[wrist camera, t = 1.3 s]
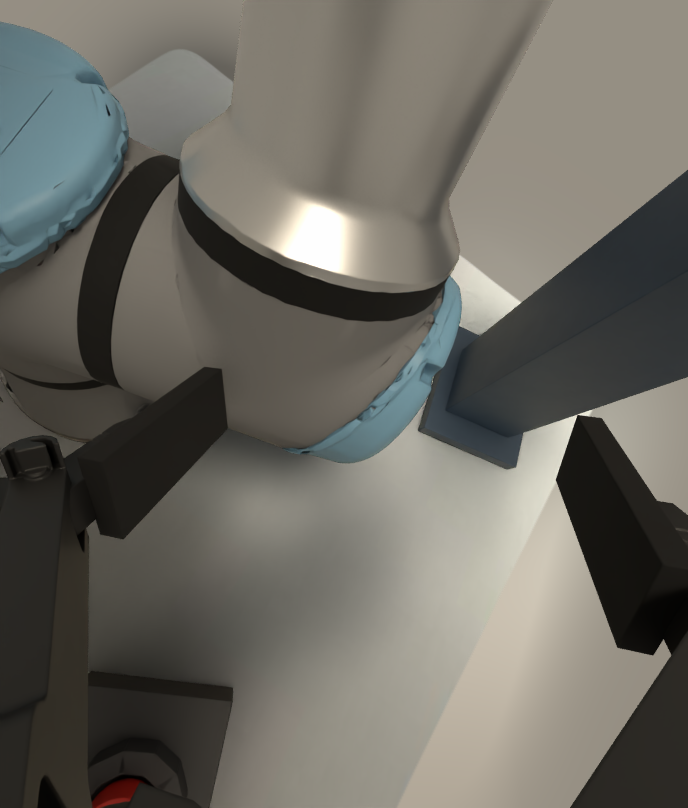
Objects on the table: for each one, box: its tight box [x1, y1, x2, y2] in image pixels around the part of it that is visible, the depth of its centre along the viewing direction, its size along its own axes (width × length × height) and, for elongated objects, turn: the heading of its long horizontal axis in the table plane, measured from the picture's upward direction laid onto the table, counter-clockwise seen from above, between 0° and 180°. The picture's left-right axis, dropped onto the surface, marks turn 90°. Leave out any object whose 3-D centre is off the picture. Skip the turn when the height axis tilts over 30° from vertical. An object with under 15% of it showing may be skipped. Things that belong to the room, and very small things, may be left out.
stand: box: [418, 170, 688, 469], centre depth 31 cm, size 12×10×28 cm
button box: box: [87, 671, 233, 808], centre depth 26 cm, size 12×10×4 cm
